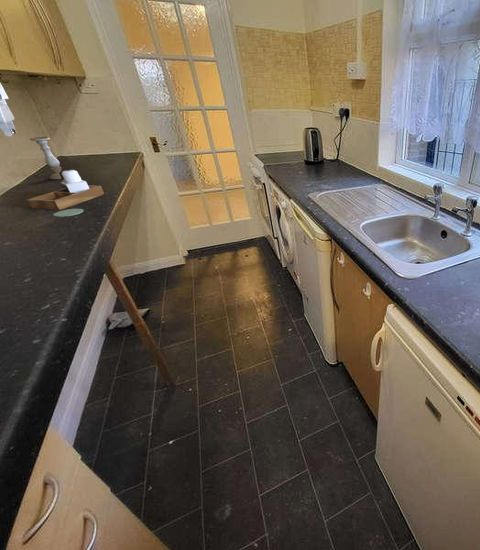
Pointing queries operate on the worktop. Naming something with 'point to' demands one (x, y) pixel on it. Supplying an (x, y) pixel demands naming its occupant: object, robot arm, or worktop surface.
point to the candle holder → (49, 156)
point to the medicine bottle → (72, 181)
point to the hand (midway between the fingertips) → (12, 134)
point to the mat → (68, 212)
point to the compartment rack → (64, 198)
